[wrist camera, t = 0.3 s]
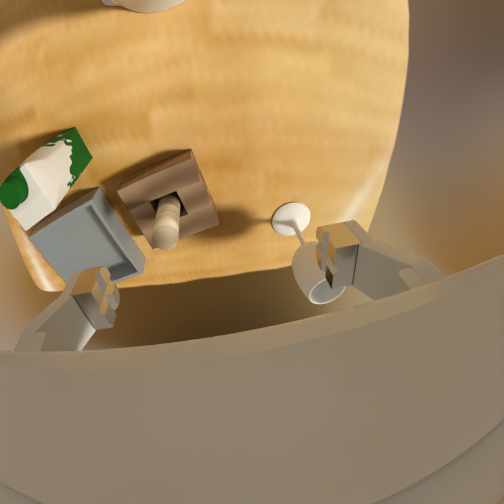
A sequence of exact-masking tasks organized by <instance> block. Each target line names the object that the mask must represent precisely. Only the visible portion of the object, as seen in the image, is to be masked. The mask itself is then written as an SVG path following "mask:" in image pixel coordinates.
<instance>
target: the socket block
mask: <svg viewBox="0 0 504 504" xmlns="http://www.w3.org/2000/svg"><path fill="white" fill-rule="evenodd" d="M174 191H177V193H178V195H179V197H180V199H181V201H182V203H181V204H180V219H179V236H178V240H179V239H181V238H184V237H187V236H190V235H192V234H195V233H198V232H201V231H204V230H206V229H209V228H212V227H215V226H218V225H219V218H218V212H217V209H216V206H215V204H214V202H213V199H212V197H211V195H210V192H209V190H208V188H207V185H206V183H205V181H204V178H203V176H202V173H201V171H200V169H199V166H198V164H197V162H196V159H195V157H194V154H193V152H192V150H191V149H190V150H188V151H185V152H183V153H180V154H178V155H175V156H173V157H170V158H168V159H166V160H163V161H161V162H159V163H156V164H154V165H152V166H150V167H147V168H145V169H143V170H141V171H139V172H137V173H134V174H132V175H130V176H128V177H126V178H124V179H123V180H122V182H121V184H120V186H119V188H118V190H117V193H118V194H119V196H120V198H121V199H122V201H123V203H124V204H125V206H126V208H127V209H128V211H129V213H130V214H131V216H132V217H133V219H134V221H135V222H136V224H137V225H138V227H139V229H140V230H141V232H142V233H143V235H144V236H145V238H146V239H147V241H148V242H149V244H150V246H151V247H152V249H155V248H157V247H156V246H155V245H154V244H153V241H152V235H153V230H154V224H155V219H156V214H157V209H158V204H159V199H158V198H160V197H162V196H165V195H167V194H169V193H172V192H174Z"/></svg>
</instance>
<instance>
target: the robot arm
mask: <svg viewBox="0 0 504 504" xmlns="http://www.w3.org/2000/svg"><path fill="white" fill-rule="evenodd" d="M183 1H185V0H102V3H103V4H105V5H108V6H122V7H125V8H127V9H129V10H132V11H135V12H141V13H152V12H159V11H163V10H167V9H169V8H172V7H174V6H176V5H178V4H180V3H182V2H183ZM316 237H317V239H318V241H319V243H318V245H317V246H316V258H317V262H318V265H319V267H320V269H321V271H323V272H325V273H326V275H325V278H326V280H327V282H328V284H329V285H330V287H331V289H336V288H341V287H346V286H350V285H353V287H355V288H356V289H358V290H359V291H361V292H362V293H364V294H366V295H367V296H369V297H370V298H372V299H373V300H375V301H372V302H368V303H365V304H361V305H358V306H354V307H351V308H347V309H343V310H339V311H336V312H332V313H328V314H324V315H320V316H316V317H311V318H307V319H303V320H298V321H294V322H289V323H285V324H281V325H276V326H271V327H265V328H261V329H255V330H250V331H245V332H239V333H234V334H228V335H222V336H216V337H210V338H203V339H197V340H190V341H183V342H175V343H167V344H159V345H149V346H139V347H129V348H117V349H103V350H86V351H81V350H82V349H83V347H84V346H85V344H86V343H87V342H88V340H89V339H90V337H91V336H92V335H93V333H94V332H95V330H97V329H103V328H110V327H113V324H114V320H115V316H116V314H115V312H114V310H115V309H116V308H117V307H118V305H119V292H118V288H117V286H116V284H115V283H114V282H113V281H111V280H110V275H111V274H110V272H109V270H108V269H107V267H105V266H101V267H95V268H90V269H84V270H79V271H75V272H73V273H72V274H71V276H70V278H69V280H68V282H67V284H66V286H65V288H64V290H63V292H62V295H61V296H60V298H57V299H56V300H55V301H54V302H52V303H51V304H50V305H49V306H48V307H47V308H46V309H45V310H44V311H43V312H42V313H41V314H40V315H39V316H38V317H37V318H35V320H33V321H32V322H31V323H30V324H29V325H28V326H27V327H26V328H25V329H24V330H23V331H22V333H21V335H20V337H19V340H18V342H17V344H16V347H15V349H14V351H0V504H504V255H500V256H497V257H495V258H493V259H491V260H488V261H486V262H484V263H481V264H479V265H476V266H474V267H471V268H469V269H466V270H464V271H461V272H459V273H456V274H454V275H451V276H448V277H445V278H444V276H443V275H442V274H441V273H440V272H439V271H438V270H437V269H436V268H435V267H434V265H433V264H432V263H430V261H428V260H425V259H423V258H421V257H418V256H416V255H413V254H411V253H408V252H406V251H404V250H401V249H399V248H396V247H393V246H391V245H388V244H386V243H383V242H380V241H374V240H373V239H372V238H371V237H370V236H369V235H368V233H367V232H366V231H365V230H364V229H363V228H362V227H361V226H360V225H359V224H358V223H357V222H356V221H354V220H351V221H346V222H341V223H336V224H331V225H326V226H321V227H317V231H316Z"/></svg>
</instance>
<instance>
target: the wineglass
mask: <svg viewBox="0 0 504 504" xmlns="http://www.w3.org/2000/svg"><path fill="white" fill-rule="evenodd" d="M309 221H310V211H309V209H308V208H307V207H306V206H305V205H304V204H302V203H298V202H292V203H287V204H285V205H283V206H281V207H280V208H279V209H278V210H277V211H276V212H275V214H274V216H273V219H272V226H273V228H274V230H275V231H276V232H277V233H279V234H281V235H284V236H291V235H295V234H297V236H298V238H299V240H300V242H301V246H300V247H299V248H298V249H297V250H296V252H295V254H294V256H293V260H292V268H293V272H294V275H295V278H296V280H297V282H298V284H299V286H300V288H301V289H302V291H303V292H304V294H305V295H306V296H307V298H308V299H309V300H310V301H311V302H312V303H315V304H325V303H328V302H331V301H333V300H334V299H336V298H337V297H339V296H340V295H341V294H342V292H343V291H344V289H345V287H341V288H336V289H331V287H330V285H329V284H328V282H327V280H326V278H325V275H326V273H325V272H323V271H321V269H320V267H319V265H318V262H317V258H316V246H317V245H318V243H319V242H316V241H312V242H306V241H305V239H304V237H303V236H302V234H301V231H302V230H304V229H305V228H306V226H307V225H308V223H309Z"/></svg>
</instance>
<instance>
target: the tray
mask: <svg viewBox="0 0 504 504" xmlns="http://www.w3.org/2000/svg"><path fill="white" fill-rule="evenodd" d="M29 239H30V240H31V242H32V243H33V244H34V245H35V247H36V248H37V249H38V250H39V252H40V253H41V254H42V255H43V257H44V258H45V259H46V260H47V261H48V263H49V264H50V265H51V266H52V267H53V268H54V270H55V271H56V272H57V273H58V274H59V275H60V276H61V278H62V279H63V280H64V281H65V282H66V283H67V282H68V280H69V278H70V276H71V274H72V273H73V272H75V271H79V270H84V269H90V268H95V267H101V266H105V267H107V269H108V270H109V272H110V274H111V275H110V280H111V281H113V282H114V283H117V282H120V281H123V280H125V279H128V278H131V277H134V276H137V275H139V274H142V273H143V270H144V264H145V256H144V255H143V253H142V252H141V250H140V249H139V247H138V246H137V245H136V243H135V242H134V240H133V239H132V237H131V236H130V234H129V233H128V231H127V230H126V228H125V227H124V225H123V224H122V222H121V221H120V219H119V217H118V216H117V214H116V213H115V211H114V210H113V208H112V206H111V205H110V203H109V202H108V200H107V198H106V197H105V195H104V193H103V192H102V190H101V188H100V187H98V188H96V189H94V190H93V191H91V192H89V193H87V194H85V195H84V196H82V197H80V198H78V199H77V200H75V201H73V202H71V203H70V204H68V205H66V206H65V207H63V208H62V209H60V210H58V211H57V212H55V213H54V214H52V215H50V216H49V217H47V218H46V219H44V220H43V221H41V222H40V223H38V224H37V225H36V227H35V228H34V230H33V232H32V233H31V235H30V236H29Z"/></svg>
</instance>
